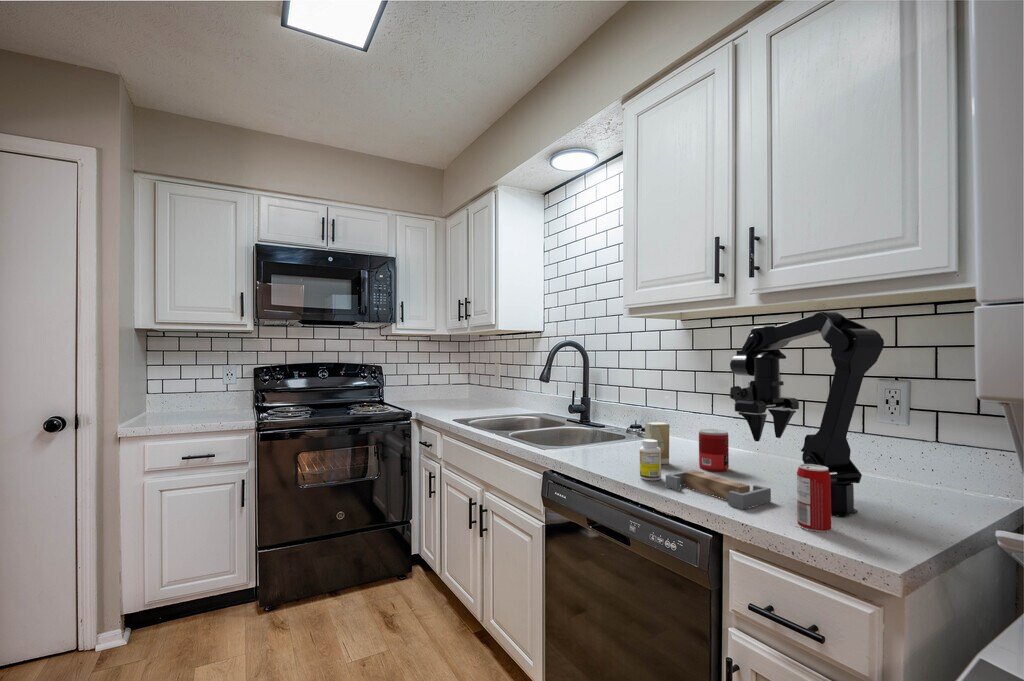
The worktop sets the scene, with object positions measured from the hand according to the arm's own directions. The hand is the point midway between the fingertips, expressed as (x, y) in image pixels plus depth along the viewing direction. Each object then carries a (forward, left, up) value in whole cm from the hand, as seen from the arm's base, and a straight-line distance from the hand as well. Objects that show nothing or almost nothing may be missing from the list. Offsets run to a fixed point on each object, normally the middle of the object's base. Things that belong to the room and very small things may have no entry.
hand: (767, 439), depth 123 cm
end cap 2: (-5, +16, -12) cm, 21 cm away
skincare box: (+34, +2, -12) cm, 36 cm away
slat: (+4, +16, -12) cm, 20 cm away
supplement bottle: (+22, +18, -12) cm, 31 cm away
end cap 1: (+12, +16, -12) cm, 23 cm away
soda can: (-21, +20, -12) cm, 31 cm away
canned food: (+20, -6, -12) cm, 24 cm away
